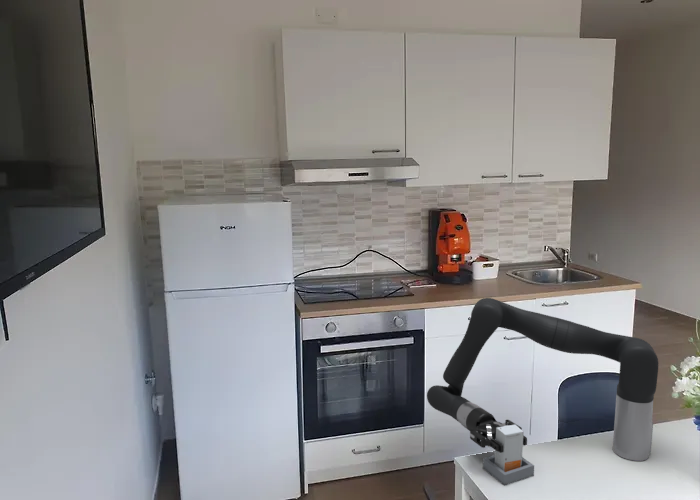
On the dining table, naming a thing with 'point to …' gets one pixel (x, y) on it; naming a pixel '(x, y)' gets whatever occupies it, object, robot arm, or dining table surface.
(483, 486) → the dining table surface
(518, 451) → the skincare box
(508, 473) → the gray tray
